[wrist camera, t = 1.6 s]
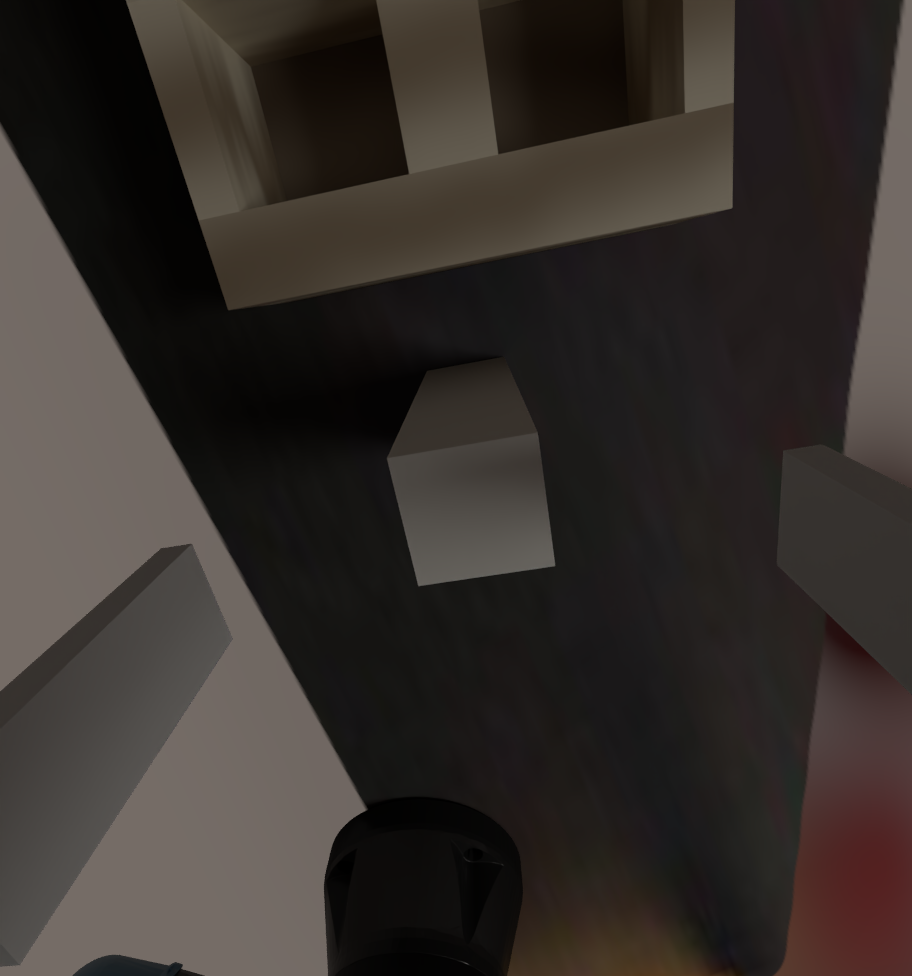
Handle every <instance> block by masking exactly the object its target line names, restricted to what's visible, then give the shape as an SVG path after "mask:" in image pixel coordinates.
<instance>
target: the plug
mask: <svg viewBox="0 0 912 976" xmlns="http://www.w3.org/2000/svg"><path fill="white" fill-rule="evenodd" d="M387 461H388V465H389V469H390V473H391V477H392V481H393V485H394V489H395V493H396V497H397V501H398V505H399V509H400V513H401V517H402V521H403V525H404V529H405V533H406V538H407V542H408V546H409V550H410V554H411V558H412V562H413V566H414V570H415V574H416V578H417V582H418V586H422V585H429V584H435V583H442V582H449V581H456V580H463V579H469V578H476V577H483V576H490V575H497V574H504V573H510V572H517V571H524V570H531V569H538V568H544V567H551V566H555V561H554V553H553V546H552V538H551V531H550V523H549V515H548V508H547V500H546V492H545V485H544V477H543V469H542V462H541V454H540V447H539V439H538V432H537V430H536V428H535V426H534V423H533V421H532V419H531V417H530V414H529V412H528V410H527V408H526V405H525V403H524V401H523V399H522V396H521V394H520V392H519V390H518V387H517V385H516V383H515V381H514V378H513V376H512V374H511V372H510V369H509V367H508V365H507V363H506V360H505V358H504V357H500V358H494V359H489V360H483V361H478V362H473V363H467V364H462V365H456V366H451V367H446V368H440V369H435V370H429V371H427V372H426V374H425V376H424V378H423V381H422V383H421V385H420V387H419V389H418V392H417V394H416V396H415V398H414V400H413V403H412V405H411V407H410V409H409V411H408V413H407V416H406V418H405V420H404V422H403V424H402V427H401V429H400V431H399V433H398V435H397V437H396V440H395V442H394V444H393V446H392V448H391V451H390V453H389V455H388V457H387Z"/></svg>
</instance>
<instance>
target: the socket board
mask: <svg viewBox="0 0 912 976" xmlns="http://www.w3.org/2000/svg"><path fill="white" fill-rule="evenodd" d="M126 2H127V5H128V8H129V11H130V14H131V17H132V20H133V23H134V26H135V29H136V32H137V35H138V38H139V41H140V44H141V47H142V50H143V53H144V56H145V60H146V63H147V66H148V69H149V72H150V75H151V78H152V81H153V84H154V87H155V90H156V93H157V96H158V99H159V102H160V105H161V108H162V111H163V114H164V117H165V120H166V123H167V126H168V129H169V132H170V135H171V138H172V141H173V144H174V147H175V150H176V153H177V156H178V159H179V162H180V165H181V168H182V171H183V174H184V178H185V181H186V184H187V187H188V190H189V193H190V196H191V199H192V202H193V205H194V208H195V211H196V214H197V217H198V220H199V223H200V226H201V229H202V232H203V235H204V238H205V241H206V244H207V247H208V250H209V253H210V256H211V259H212V262H213V265H214V268H215V271H216V274H217V277H218V280H219V283H220V286H221V289H222V293H223V296H224V299H225V302H226V305H227V308H228V310H234V309H242V308H250V307H257V306H265V305H272V304H280V303H288V302H293V301H298V300H303V299H308V298H313V297H318V296H323V295H328V294H333V293H338V292H343V291H348V290H353V289H358V288H363V287H368V286H372V285H377V284H382V283H387V282H392V281H397V280H402V279H407V278H412V277H417V276H422V275H427V274H432V273H437V272H442V271H447V270H452V269H457V268H462V267H467V266H472V265H476V264H481V263H486V262H491V261H496V260H501V259H506V258H511V257H516V256H521V255H526V254H531V253H536V252H541V251H546V250H551V249H556V248H561V247H566V246H571V245H575V244H580V243H585V242H590V241H595V240H600V239H605V238H610V237H615V236H620V235H625V234H630V233H635V232H640V231H645V230H650V229H655V228H660V227H664V226H667V225H671V224H675V223H679V222H682V221H686V220H690V219H694V218H697V217H701V216H705V215H708V214H712V213H716V212H720V211H723V210H727V209H731V208H732V190H733V105H734V19H735V0H126Z"/></svg>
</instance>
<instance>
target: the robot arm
mask: <svg viewBox="0 0 912 976" xmlns="http://www.w3.org/2000/svg"><path fill="white" fill-rule="evenodd" d="M777 565H778V566H779V567H780V568H781V569H782V570H783V571H784V572H785V573H786V574H787V575H788V576H789V577H790V578H791V579H792V580H793V581H794V582H795V583H796V584H798V585H799V586H800V587H801V588H802V589H803V590H804V591H805V592H806V593H807V594H808V595H809V596H810V597H811V598H812V599H813V600H814V601H815V602H816V603H817V604H818V605H819V606H820V607H821V608H822V609H823V610H825V611H826V612H827V613H828V614H829V615H830V616H831V617H832V618H833V619H834V620H835V621H836V622H837V623H838V624H839V625H840V626H841V627H842V628H843V629H844V630H845V631H846V632H847V633H848V634H850V636H852V637H853V638H854V639H855V640H856V641H857V642H858V643H859V644H860V645H861V646H862V647H863V648H864V649H865V650H866V651H867V652H868V653H869V654H870V655H871V656H872V657H873V658H874V659H875V660H877V662H879V663H880V664H881V665H882V666H883V667H884V668H885V669H886V670H887V671H888V672H889V673H890V674H891V675H892V676H893V677H894V678H895V679H896V680H897V681H898V682H899V683H900V684H901V685H902V686H903V687H904V688H905V689H907V690H908V691H909V692H910V693H911V694H912V489H911V488H909V487H907V486H905V485H902V484H901V483H899V482H896V481H895V480H893V479H891V478H888V477H887V476H885V475H883V474H880V473H879V472H877V471H875V470H872V469H871V468H868V467H866V466H864V465H862V464H860V463H858V462H856V461H854V460H852V459H850V458H848V457H846V456H844V455H842V454H840V453H838V452H836V451H834V450H832V449H830V448H828V447H826V446H824V445H817V446H810V447H804V448H797V449H791V450H785V451H783V465H782V482H781V499H780V516H779V533H778V550H777ZM231 641H232V636H231V634H230V631H229V629H228V627H227V625H226V622H225V620H224V618H223V615H222V613H221V611H220V608H219V606H218V604H217V601H216V599H215V597H214V594H213V592H212V590H211V587H210V585H209V583H208V580H207V578H206V576H205V573H204V571H203V569H202V566H201V564H200V562H199V559H198V557H197V555H196V552H195V550H194V548H193V545H192V544H187V545H181V546H174V547H169V548H162V549H160V550H159V551H158V552H157V553H156V554H154V555H153V556H152V557H151V558H150V559H149V560H148V561H147V562H145V563H144V564H143V565H142V566H141V567H140V568H139V569H138V570H137V571H135V572H134V573H133V574H132V575H131V576H130V577H129V578H127V579H126V580H125V581H124V582H123V583H122V584H121V585H120V586H118V587H117V588H116V589H115V590H114V591H113V592H112V593H111V594H109V596H107V597H106V598H105V599H104V600H103V601H102V602H101V603H99V604H98V605H97V606H96V607H95V608H94V609H93V610H91V611H90V612H89V613H88V614H87V615H86V616H85V617H84V618H83V619H81V620H80V621H79V622H78V623H77V624H76V625H75V626H73V627H72V628H71V629H70V630H69V631H68V632H67V633H66V634H65V635H63V636H62V637H61V638H60V639H59V640H58V641H57V642H55V644H53V645H52V646H51V647H50V648H49V649H48V650H47V651H45V652H44V653H43V654H42V655H41V656H40V657H39V658H38V659H36V660H35V661H34V662H33V663H32V664H31V665H30V666H28V667H27V668H26V669H25V670H24V671H23V672H22V673H21V674H19V675H18V676H17V677H16V678H15V679H14V680H13V681H12V682H10V683H9V684H8V685H7V686H6V687H5V688H4V689H3V690H2V691H0V966H13V965H20V964H21V962H22V961H23V959H24V958H25V956H26V955H27V953H28V951H29V950H30V948H31V947H32V945H33V944H34V942H35V941H36V939H37V938H38V936H39V934H40V933H41V931H42V930H43V928H44V927H45V925H46V924H47V922H48V921H49V919H50V918H51V916H52V915H53V913H54V912H55V910H56V909H57V907H58V906H59V904H60V902H61V901H62V899H63V898H64V896H65V895H66V893H67V892H68V890H69V889H70V887H71V886H72V884H73V883H74V881H75V880H76V878H77V876H78V875H79V873H80V872H81V870H82V868H83V867H84V866H85V864H86V863H87V861H88V860H89V858H90V857H91V855H92V853H93V852H94V850H95V849H96V847H97V846H98V844H99V843H100V841H101V840H102V838H103V837H104V835H105V834H106V832H107V831H108V829H109V828H110V826H111V824H112V823H113V821H114V820H115V818H116V817H117V815H118V814H119V812H120V811H121V809H122V808H123V806H124V805H125V803H126V801H127V800H128V798H129V797H130V795H131V794H132V792H133V791H134V789H135V788H136V786H137V785H138V783H139V782H140V780H141V779H142V777H143V775H144V774H145V772H146V771H147V769H148V768H149V766H150V765H151V763H152V762H153V760H154V759H155V757H156V756H157V754H158V753H159V751H160V749H161V748H162V746H163V745H164V743H165V742H166V740H167V739H168V737H169V736H170V734H171V733H172V731H173V730H174V728H175V726H176V725H177V723H178V722H179V720H180V719H181V717H182V716H183V714H184V713H185V711H186V710H187V708H188V706H189V705H190V704H191V702H192V700H193V699H194V697H195V696H196V694H197V693H198V691H199V690H200V688H201V687H202V685H203V684H204V682H205V680H206V679H207V677H208V676H209V674H210V673H211V671H212V669H213V668H214V667H215V665H216V664H217V662H218V661H219V659H220V658H221V656H222V655H223V653H224V651H225V650H226V648H227V647H228V645H229V644H230V642H231ZM522 897H523V885H522V873H521V861H520V856H519V852H518V850H517V847H516V845H515V843H514V842H513V840H512V838H511V837H510V836H509V835H508V833H507V832H506V831H505V830H504V829H503V828H502V827H501V826H500V825H498V824H497V823H496V822H494V821H493V820H491V819H490V818H488V817H487V816H485V815H483V814H481V813H479V812H477V811H475V810H473V809H470V808H467V807H465V806H461V805H458V804H454V803H450V802H444V801H438V800H426V799H414V800H402V801H395V802H390V803H386V804H382V805H379V806H376V807H374V808H371V809H369V810H367V811H365V812H363V813H361V814H359V815H358V816H356V817H354V818H353V819H352V820H350V821H349V822H348V823H347V824H346V825H345V826H344V827H343V828H342V829H341V830H340V832H339V833H338V835H337V836H336V838H335V840H334V843H333V845H332V849H331V853H330V857H329V861H328V865H327V870H326V874H325V882H324V898H325V919H326V938H327V959H328V976H507V974H508V969H509V964H510V959H511V954H512V949H513V944H514V939H515V935H516V930H517V925H518V920H519V915H520V910H521V905H522ZM182 966H183V965H182V964H180V963H177V962H175V963H172V964H171V965H170V966H168V965H163V964H158V963H153V962H149V961H145V960H140V959H135V958H130V957H126V956H121V955H108V956H104V957H101V958H98V959H96V960H93V961H92V962H90V963H88V964H86V965H85V966H84V967H82V968H81V969H79V970H78V971H77V972H76V973H75V974H74V975H73V976H203V975H200V974H197V973H193V972H190V971H186V970H183V969H181V968H182Z"/></svg>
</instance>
